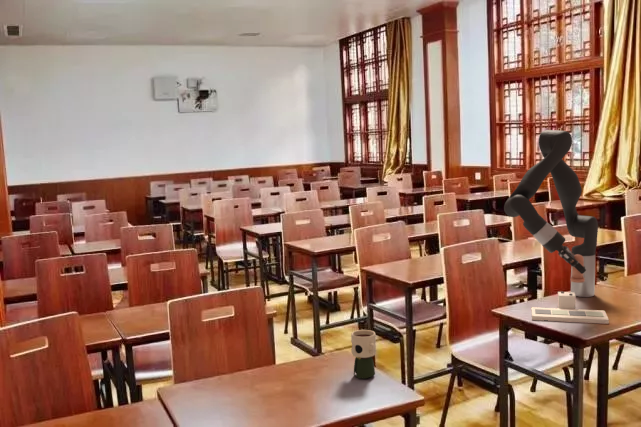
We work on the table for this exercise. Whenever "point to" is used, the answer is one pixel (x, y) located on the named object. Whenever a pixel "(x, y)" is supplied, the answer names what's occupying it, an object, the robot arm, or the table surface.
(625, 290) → the table surface
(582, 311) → the game board
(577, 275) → the pawn
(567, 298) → the die
